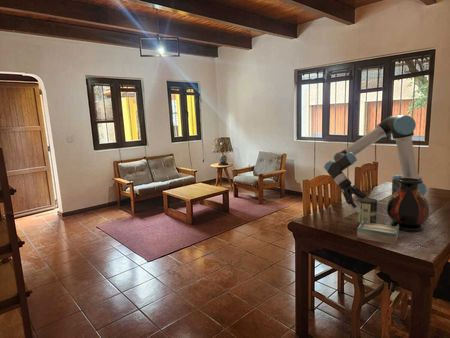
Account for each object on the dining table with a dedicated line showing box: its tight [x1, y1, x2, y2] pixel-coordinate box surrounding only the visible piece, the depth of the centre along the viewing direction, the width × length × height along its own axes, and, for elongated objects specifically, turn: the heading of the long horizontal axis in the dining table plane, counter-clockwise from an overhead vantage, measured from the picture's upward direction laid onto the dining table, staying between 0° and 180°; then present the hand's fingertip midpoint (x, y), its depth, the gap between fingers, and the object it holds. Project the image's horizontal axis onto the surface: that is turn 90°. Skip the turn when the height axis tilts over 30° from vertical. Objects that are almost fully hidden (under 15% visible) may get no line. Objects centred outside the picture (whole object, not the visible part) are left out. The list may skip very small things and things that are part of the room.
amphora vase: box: [385, 178, 432, 233], centre depth 170 cm, size 22×22×28 cm
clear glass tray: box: [356, 219, 400, 245], centre depth 161 cm, size 16×18×6 cm
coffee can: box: [357, 197, 378, 224], centre depth 182 cm, size 10×10×14 cm
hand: (365, 209), depth 182 cm, fingers open, 13 cm apart
